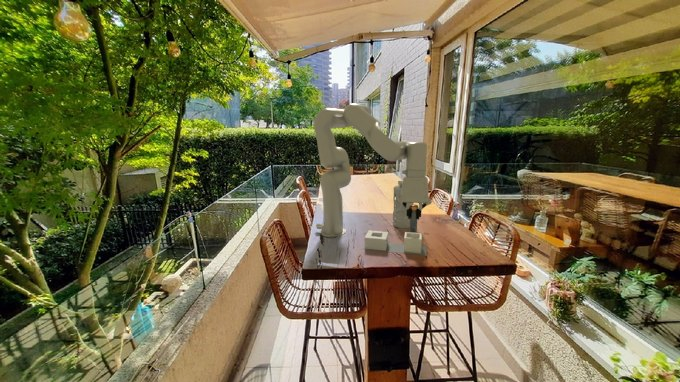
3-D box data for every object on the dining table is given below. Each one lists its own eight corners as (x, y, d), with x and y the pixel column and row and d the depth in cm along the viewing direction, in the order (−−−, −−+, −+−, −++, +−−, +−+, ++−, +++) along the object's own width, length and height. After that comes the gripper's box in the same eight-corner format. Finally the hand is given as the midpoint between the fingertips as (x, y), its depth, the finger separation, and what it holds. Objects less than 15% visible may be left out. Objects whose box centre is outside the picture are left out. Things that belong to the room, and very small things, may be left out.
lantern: (391, 222, 149) (392, 178, 144) (410, 222, 148) (411, 177, 143) (395, 230, 136) (396, 182, 131) (415, 230, 136) (417, 182, 130)
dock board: (361, 251, 113) (362, 235, 111) (366, 242, 122) (366, 227, 120) (426, 258, 105) (427, 241, 104) (425, 247, 115) (426, 232, 113)
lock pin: (409, 232, 109) (410, 206, 106) (409, 229, 112) (410, 204, 109) (416, 232, 108) (418, 206, 106) (416, 230, 111) (418, 204, 108)
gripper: (393, 174, 104) (392, 219, 107) (438, 175, 99) (435, 222, 103) (395, 171, 111) (394, 214, 114) (437, 172, 106) (434, 217, 110)
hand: (413, 217), depth 109 cm, fingers closed on lock pin, 3 cm apart
